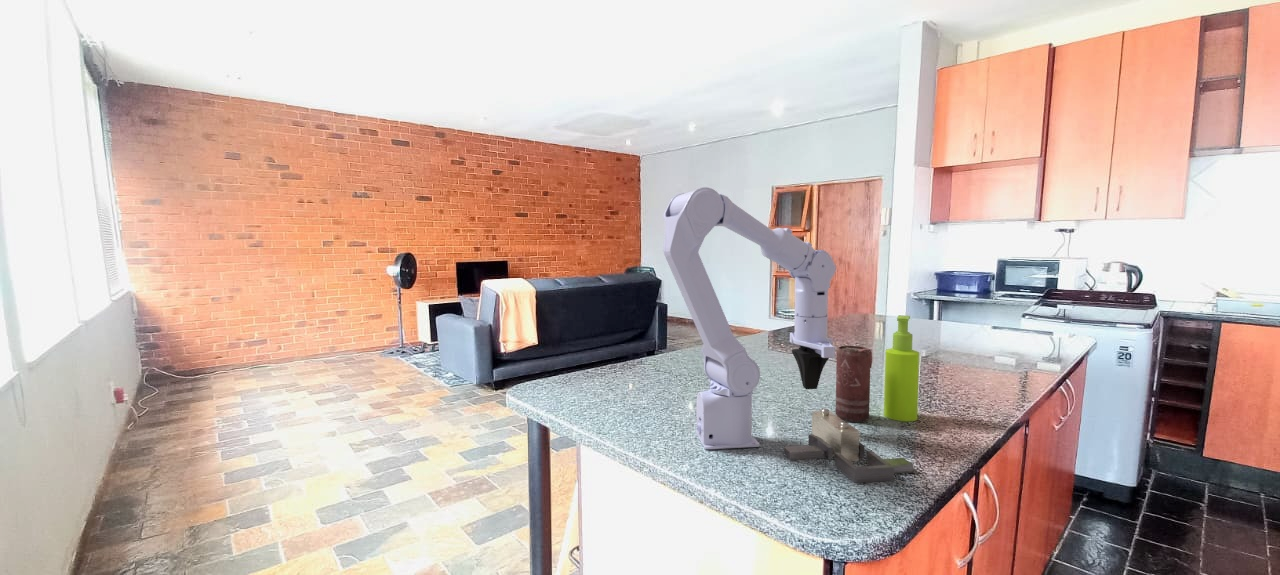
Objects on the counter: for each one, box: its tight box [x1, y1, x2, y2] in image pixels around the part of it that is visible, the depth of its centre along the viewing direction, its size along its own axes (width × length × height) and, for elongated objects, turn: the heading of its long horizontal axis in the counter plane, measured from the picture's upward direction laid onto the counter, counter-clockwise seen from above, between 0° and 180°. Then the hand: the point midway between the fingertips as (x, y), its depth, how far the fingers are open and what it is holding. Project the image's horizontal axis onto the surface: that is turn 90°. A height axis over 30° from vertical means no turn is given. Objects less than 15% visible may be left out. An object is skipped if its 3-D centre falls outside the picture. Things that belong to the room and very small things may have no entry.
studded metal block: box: [811, 408, 860, 463], centre depth 83 cm, size 3×10×6 cm, turn 6°
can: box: [835, 345, 873, 424], centre depth 97 cm, size 6×6×14 cm
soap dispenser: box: [883, 314, 920, 422], centre depth 98 cm, size 6×7×20 cm
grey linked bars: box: [783, 433, 914, 484], centre depth 78 cm, size 16×14×2 cm
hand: (810, 388), depth 92 cm, fingers closed
